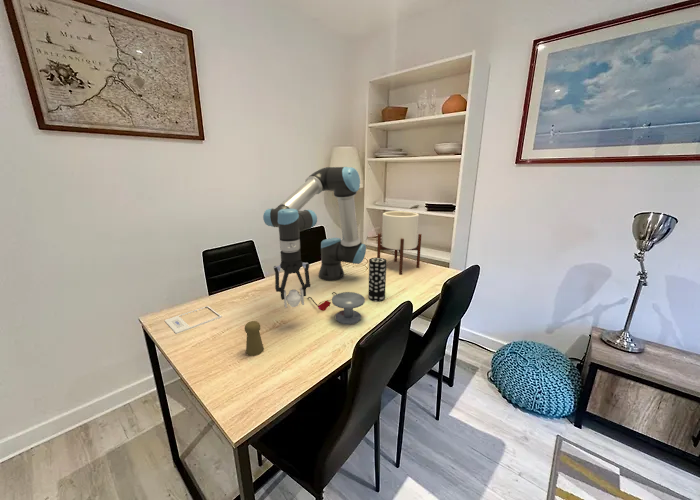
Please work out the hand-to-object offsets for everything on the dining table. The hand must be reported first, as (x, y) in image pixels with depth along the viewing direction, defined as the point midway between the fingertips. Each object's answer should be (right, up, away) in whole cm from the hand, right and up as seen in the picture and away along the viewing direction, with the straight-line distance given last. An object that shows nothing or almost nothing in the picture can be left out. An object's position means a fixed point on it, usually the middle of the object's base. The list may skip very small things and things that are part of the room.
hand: (294, 304), depth 115 cm
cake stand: (+22, -7, +9) cm, 25 cm away
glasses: (+11, -4, +24) cm, 26 cm away
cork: (-11, -14, -14) cm, 23 cm away
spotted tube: (+36, -2, +28) cm, 46 cm away
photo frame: (-45, -8, +8) cm, 46 cm away
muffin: (0, -1, 0) cm, 1 cm away
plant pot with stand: (+54, +10, +73) cm, 92 cm away
